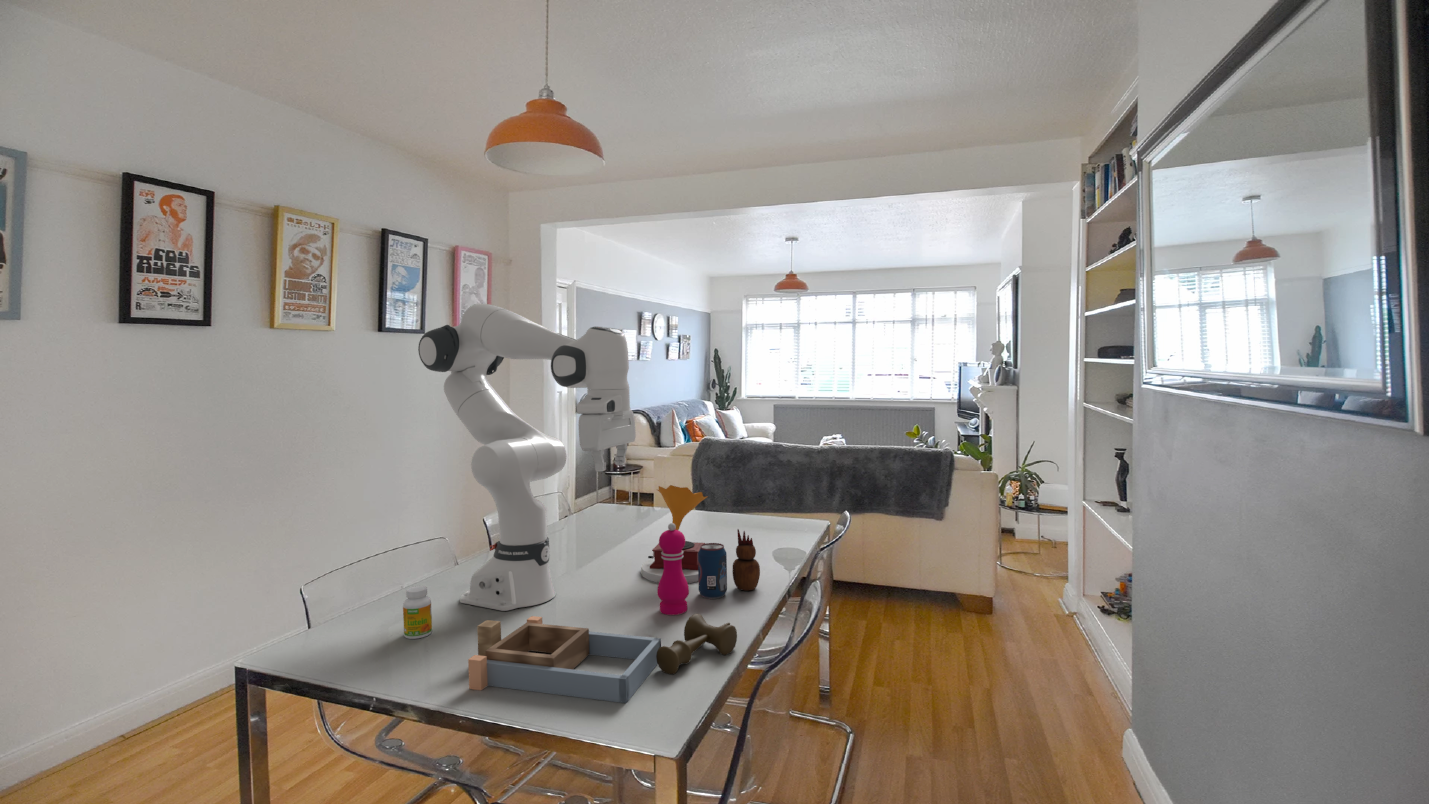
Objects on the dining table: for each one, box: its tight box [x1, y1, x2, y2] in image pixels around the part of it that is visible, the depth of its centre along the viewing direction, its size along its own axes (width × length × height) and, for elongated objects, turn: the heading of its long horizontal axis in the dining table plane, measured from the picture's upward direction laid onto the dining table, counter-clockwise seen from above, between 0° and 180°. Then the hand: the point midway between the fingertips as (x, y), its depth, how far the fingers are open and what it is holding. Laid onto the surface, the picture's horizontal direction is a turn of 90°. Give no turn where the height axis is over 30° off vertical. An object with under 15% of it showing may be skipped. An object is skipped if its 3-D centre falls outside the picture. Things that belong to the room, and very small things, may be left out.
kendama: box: [656, 613, 738, 675], centre depth 124 cm, size 6×10×20 cm
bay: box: [467, 615, 662, 704], centre depth 118 cm, size 28×20×5 cm
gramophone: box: [640, 484, 709, 584], centre depth 176 cm, size 20×20×25 cm
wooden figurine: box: [732, 528, 761, 592], centre depth 161 cm, size 7×6×15 cm
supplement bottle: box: [402, 585, 433, 640], centre depth 136 cm, size 5×5×10 cm
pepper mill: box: [656, 522, 690, 616], centre depth 147 cm, size 7×7×20 cm
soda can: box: [697, 542, 728, 600], centre depth 157 cm, size 7×7×12 cm
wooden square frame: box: [476, 619, 590, 670], centre depth 120 cm, size 19×13×7 cm
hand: (610, 467), depth 138 cm, fingers open, 8 cm apart
